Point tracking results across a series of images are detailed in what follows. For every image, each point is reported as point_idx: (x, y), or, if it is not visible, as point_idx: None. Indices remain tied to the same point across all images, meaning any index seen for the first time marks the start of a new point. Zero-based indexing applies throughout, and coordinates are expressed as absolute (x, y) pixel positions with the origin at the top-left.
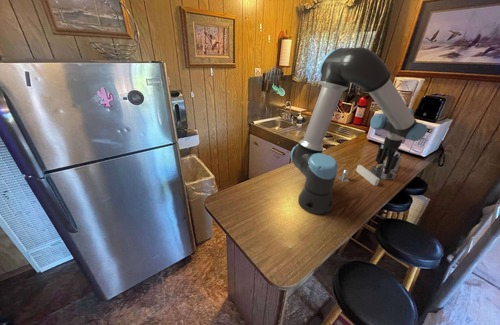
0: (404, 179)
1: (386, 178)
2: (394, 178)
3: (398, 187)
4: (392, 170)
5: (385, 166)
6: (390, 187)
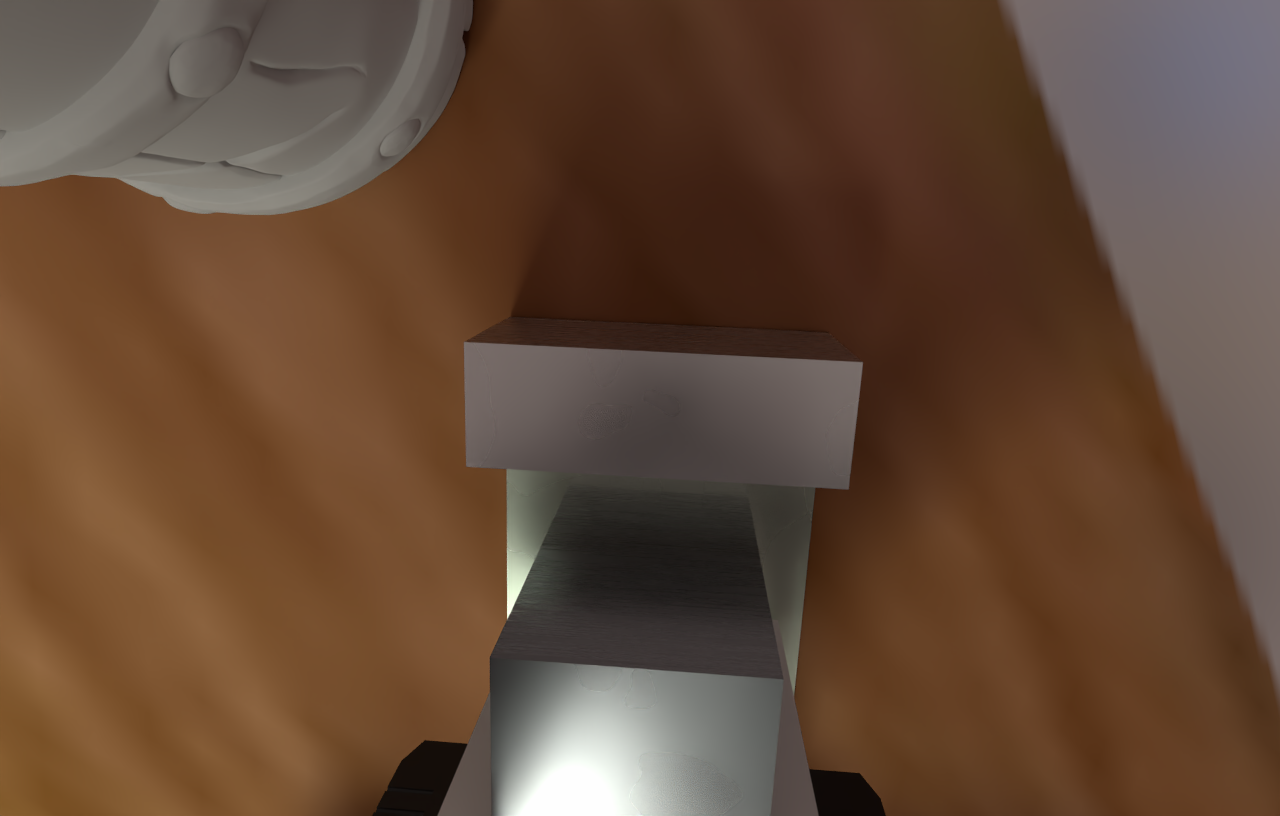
0: (936, 22)
1: (785, 577)
2: (830, 338)
3: (1217, 583)
4: (448, 81)
5: (568, 789)
6: (1144, 770)
